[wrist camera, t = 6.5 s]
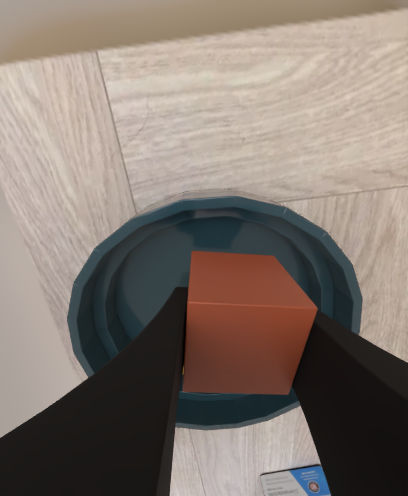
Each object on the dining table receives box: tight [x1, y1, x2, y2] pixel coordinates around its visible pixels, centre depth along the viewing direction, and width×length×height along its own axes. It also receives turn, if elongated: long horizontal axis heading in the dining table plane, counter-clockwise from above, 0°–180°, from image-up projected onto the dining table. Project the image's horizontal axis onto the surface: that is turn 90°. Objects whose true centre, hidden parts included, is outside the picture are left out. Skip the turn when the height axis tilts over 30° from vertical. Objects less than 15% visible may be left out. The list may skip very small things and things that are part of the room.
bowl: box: [67, 189, 363, 430], centre depth 16 cm, size 19×19×4 cm
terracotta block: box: [183, 251, 318, 395], centre depth 9 cm, size 4×4×4 cm
